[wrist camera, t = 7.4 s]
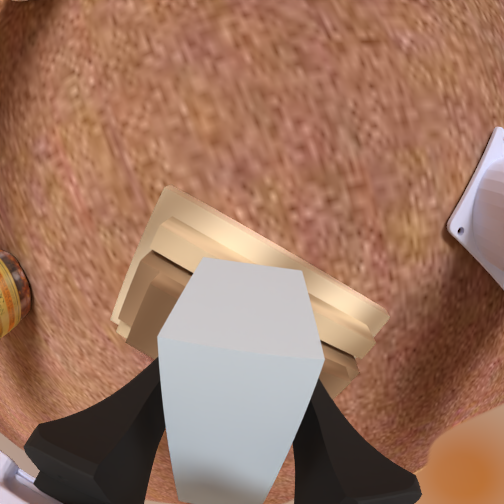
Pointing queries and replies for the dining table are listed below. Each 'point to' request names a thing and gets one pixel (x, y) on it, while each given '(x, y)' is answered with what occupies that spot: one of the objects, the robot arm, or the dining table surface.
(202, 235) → the jig board
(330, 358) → the wooden plate with blocks
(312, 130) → the dining table surface
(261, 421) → the white rubber eraser
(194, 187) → the dining table surface
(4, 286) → the sauce bottle
